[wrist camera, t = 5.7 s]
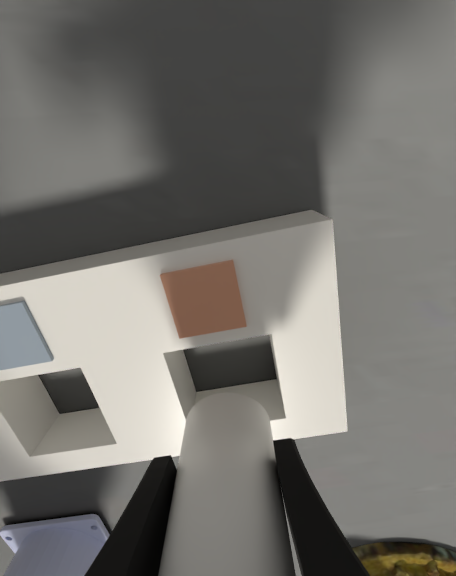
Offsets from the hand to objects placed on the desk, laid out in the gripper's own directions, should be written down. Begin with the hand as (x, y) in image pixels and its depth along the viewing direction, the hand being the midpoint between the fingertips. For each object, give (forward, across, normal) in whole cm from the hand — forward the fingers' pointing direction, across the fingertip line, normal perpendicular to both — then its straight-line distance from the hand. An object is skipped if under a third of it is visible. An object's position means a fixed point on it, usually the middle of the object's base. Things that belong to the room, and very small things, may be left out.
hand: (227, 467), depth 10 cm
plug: (+2, 0, 0) cm, 2 cm away
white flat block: (+7, +4, -2) cm, 9 cm away
